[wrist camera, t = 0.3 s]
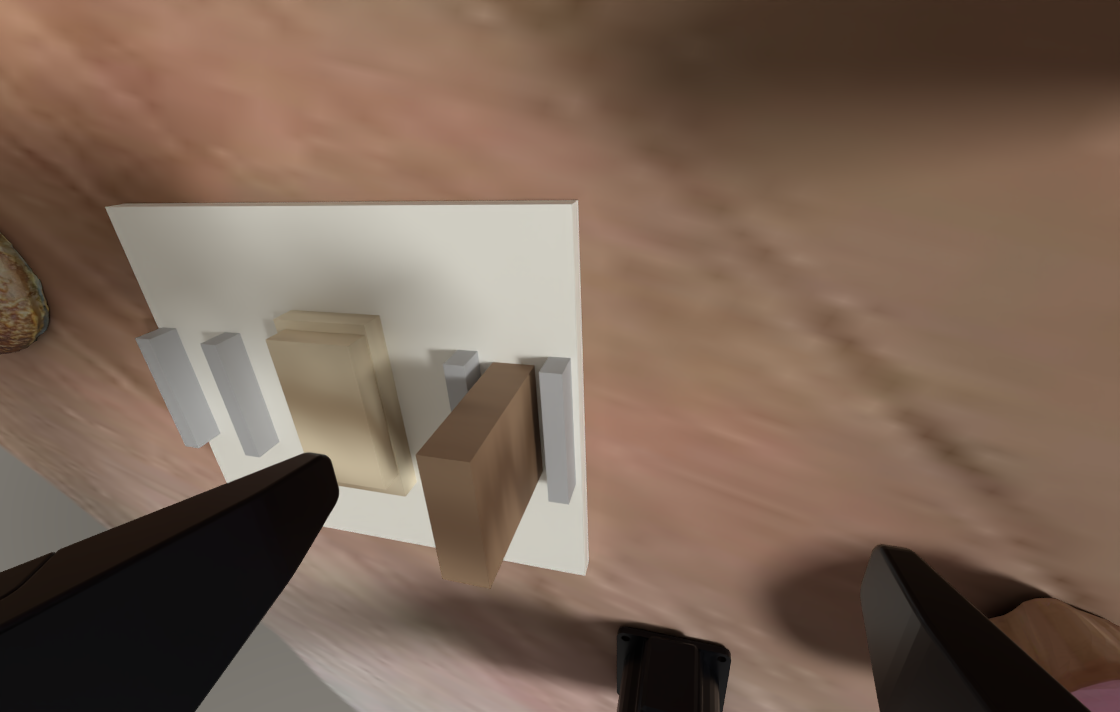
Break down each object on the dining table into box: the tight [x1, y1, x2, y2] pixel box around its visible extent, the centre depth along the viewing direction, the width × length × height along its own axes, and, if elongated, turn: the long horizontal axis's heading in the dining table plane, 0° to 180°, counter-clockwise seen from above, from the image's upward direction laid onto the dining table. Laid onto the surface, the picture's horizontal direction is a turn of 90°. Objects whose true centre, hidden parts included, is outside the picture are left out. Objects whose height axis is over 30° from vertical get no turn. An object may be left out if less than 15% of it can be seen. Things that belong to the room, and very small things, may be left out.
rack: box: [105, 200, 589, 576], centre depth 26 cm, size 20×24×2 cm
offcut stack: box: [266, 310, 417, 497], centre depth 25 cm, size 10×5×2 cm, turn 3°
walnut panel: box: [416, 362, 543, 589], centre depth 21 cm, size 6×2×7 cm, turn 3°
